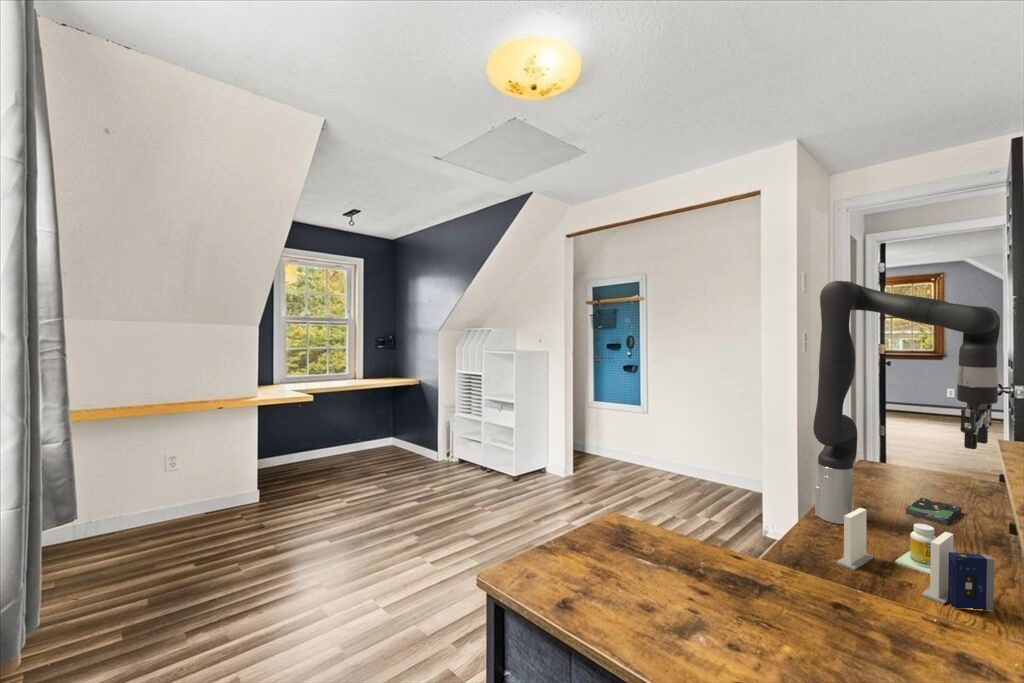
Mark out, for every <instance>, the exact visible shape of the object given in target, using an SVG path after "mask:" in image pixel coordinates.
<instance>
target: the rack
mask: <svg viewBox="0 0 1024 683" xmlns="http://www.w3.org/2000/svg"><path fill="white" fill-rule="evenodd" d="M954 536H955V535H954V533H951V532H947V531H944V532H943V533H941V534H940V535H938V536H937V537H936V539H934V540H933V541H932V542H931V564H930V575H929V576H930V577H929V578H930V579H929V580H930V582H929V584H930V585H929V587H928V588H927V589H926V590H924V591H923V592H921V595H922V596H924V597H926V598H925V599H927V598H929V599H928V600H930V599H931V600H930V601H932V600H934V601H933V602H935V601H936V602H935V603H937V602H939V603H938V604H940V603H941V604H940V605H943V604H945V603H946V604H948V565H949V552H954ZM872 559H874V555H872V554H869V553H867V509H866V508H862V507H858V508H856V509H855V510H853V512H851V513H849V514H847V515H845V516H844V524H843V557H841V558H840V559H838V560H837V561H836V564H837V565H839V566H841V567H843V568H847V569H849V570H852V571H856V570H857V569H859V568H860V567H862V566H863V565H865V564H866V563H868V562H869V561H871V560H872ZM922 596H921V597H922ZM924 597H923V598H924ZM946 604H945V605H946Z"/></svg>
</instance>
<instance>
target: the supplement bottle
mask: <svg viewBox="0 0 1024 683" xmlns="http://www.w3.org/2000/svg"><path fill="white" fill-rule="evenodd" d="M936 538H937V537H936V535H935V527H933V526H931V525H928V524H924V523H914V524H913V531H912V532H910V535H909V543H910V545H909V546H910V547H909V549H910V550H909V551H910V559H911V561H912V562H913V563H915V564H917V565H920V566H923V567H928V568H930V564H931V542H932V541H933V540H934V539H936Z"/></svg>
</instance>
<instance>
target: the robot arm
mask: <svg viewBox="0 0 1024 683" xmlns="http://www.w3.org/2000/svg"><path fill="white" fill-rule="evenodd" d="M819 304H820V305H819V306H820V307H819V308H820V317H821V318H820V320H821V332H820V343H819V344H820V346H819V358H818V359H819V360H818V381H817V382H818V386H817V401H816V402H817V403H816V408H815V414H814V419H813V428H812V429H813V435H814V437H815V438H816V440H817V441H818V443H820V444H821V445H824V446H823V449H821V451H820V452H819V454H818V456H817V485H816V486H815V487H814V503H815V504H814V515H816V517H818V518H819V519H822V520H823V521H826V522H828V523H832V524H833V523H834V524H839V525H844V516H845V515H847V514H849V513H851V512H853V511H854V462H855V460H856V458H857V454H858V453H857V449H858V428H857V424H856V422H855V421H854V420H853V418H852V417H850V416H848V415H846V414H843V413H844V412H843V411H844V410H843V409H844V402H845V399H846V396H847V394H848V392H849V390H850V389H851V387H852V386H851V385H852V383H853V380H854V379H855V378H854V377H855V374H856V373H855V370H856V350H855V347H854V343H853V339H852V336H851V331H850V321H851V320H850V318H851V311H864V312H865V311H866V312H867V311H868V312H873V313H879V314H883V315H887V316H890V317H893V318H896V319H900V320H905V321H910V322H914V323H917V324H923V325H928V326H935V327H941V328H945V329H948V330H952V331H956V332H960V333H962V344H961V346H960V347H959V350H958V369H957V374H956V376H957V378H956V380H957V381H956V382H957V383H956V399H957V401H959V402H961V403H966V408H961V409H960V412H961V414H960V432H961V433H963V434H964V439H963V440H964V442H963V443H964V444H963V445H964V448H965V449H969V450H976V449H977V447H978V444H982V445H983V444H984V445H985V444H988V441H989V440H988V439H989V438H988V437H989V436H988V435H989V429H990V427H991V426H992V424H993V423H992V405H993V404H994V405H995V404H997V403H998V402H999V401H998V400H999V373H998V372H999V371H998V350H997V347H998V346H997V345H998V342H999V337H1000V336H999V335H1000V330H1001V318H1000V314H999V313H998V312H997V311H996V310H995V309H993V308H991V307H988V306H974V305H966V304H959V303H953V302H951V303H950V302H948V301H945V300H943V299H942V300H941V299H935V298H930V297H924V296H919V295H917V296H915V295H908V294H900V293H899V294H898V293H893V292H885V291H881V290H876V289H873V288H869V287H866V286H863V285H860V284H857V283H855V282H852V281H848V280H847V281H846V280H834V281H830V282H828V283H827V284H826V285H825V286H823V287H822V290H821V291H820V294H819Z"/></svg>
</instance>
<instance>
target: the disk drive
mask: <svg viewBox="0 0 1024 683" xmlns="http://www.w3.org/2000/svg"><path fill="white" fill-rule="evenodd" d="M906 514H909V515H912V516H915V517H914V518H916V517H919V518H918V519H920V518H922V519H921V520H923V519H925V520H924V521H927V520H929V521H928V522H931V521H933V522H932V523H935V522H937V523H936V524H939V523H940V525H943V526H949V525H950V524H951V523H952V522H954V521H955V520H956V519H957V518H958V517H959V516H960V515H962V507H961V506H957V505H952V504H949V503H945V502H941V501H933V500H930V499H928V498H924V497H920V498H919V499H917V500H916V501H915V502H913V503H912V504H910V505H908V506H907V507H906V508H905V515H906ZM912 516H911V517H912Z"/></svg>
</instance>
